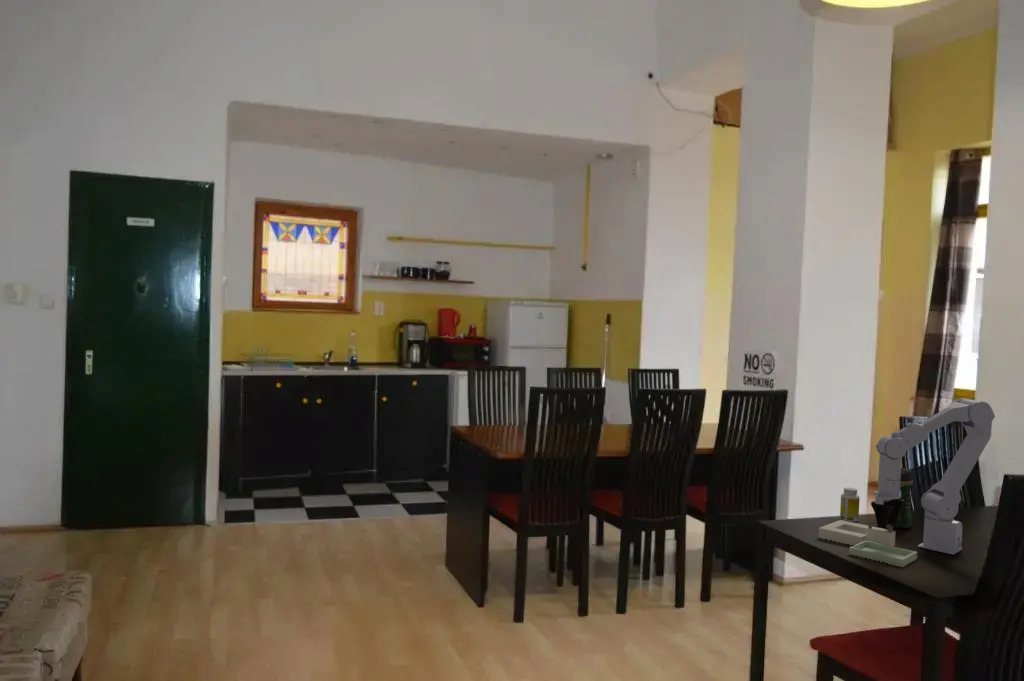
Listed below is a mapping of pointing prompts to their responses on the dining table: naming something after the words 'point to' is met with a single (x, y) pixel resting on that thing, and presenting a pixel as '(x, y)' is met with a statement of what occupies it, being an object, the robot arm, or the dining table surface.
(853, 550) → the tray
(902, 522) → the coffee jar
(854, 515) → the supplement bottle
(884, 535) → the block with grey handle
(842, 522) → the bay
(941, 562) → the dining table surface
